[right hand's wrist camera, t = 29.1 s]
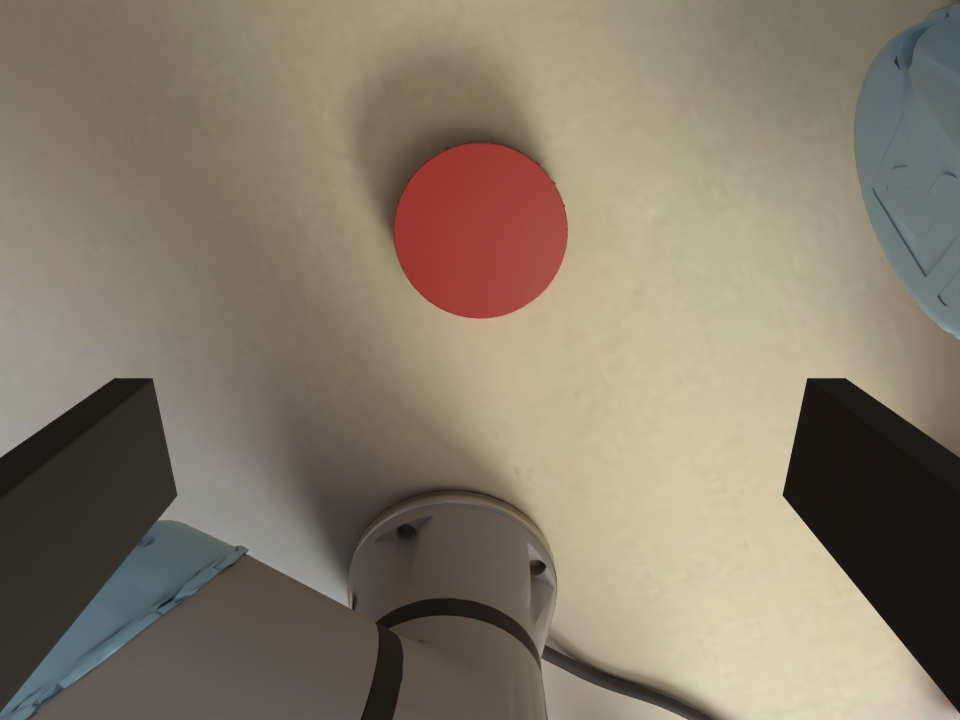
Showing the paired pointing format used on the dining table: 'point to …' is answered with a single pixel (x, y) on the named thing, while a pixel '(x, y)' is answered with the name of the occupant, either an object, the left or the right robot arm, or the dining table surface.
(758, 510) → the dining table surface
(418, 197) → the lid
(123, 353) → the dining table surface
